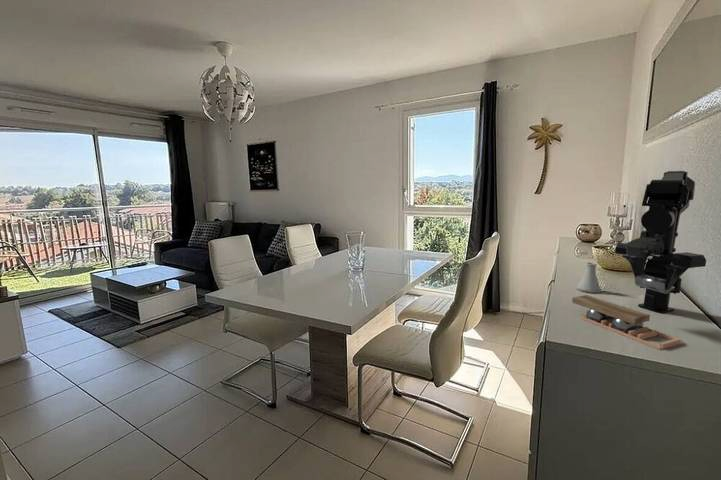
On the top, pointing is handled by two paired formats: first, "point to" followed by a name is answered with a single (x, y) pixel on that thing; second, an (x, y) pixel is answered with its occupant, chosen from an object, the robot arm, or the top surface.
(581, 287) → the flask
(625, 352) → the top surface
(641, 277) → the roller
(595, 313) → the rear roller
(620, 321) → the middle roller
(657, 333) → the roller track
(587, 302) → the walnut board
